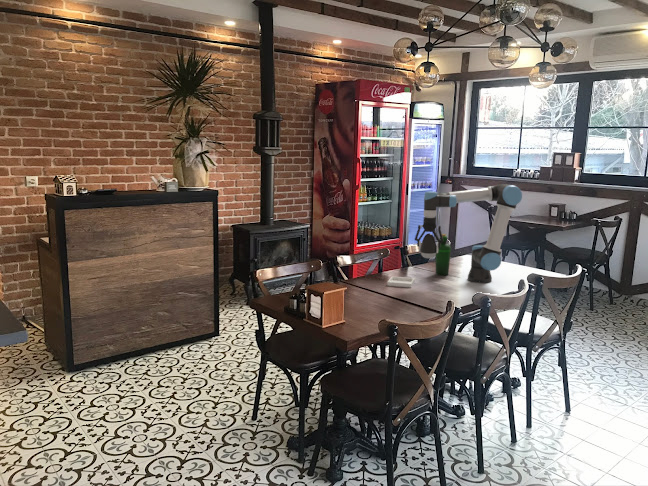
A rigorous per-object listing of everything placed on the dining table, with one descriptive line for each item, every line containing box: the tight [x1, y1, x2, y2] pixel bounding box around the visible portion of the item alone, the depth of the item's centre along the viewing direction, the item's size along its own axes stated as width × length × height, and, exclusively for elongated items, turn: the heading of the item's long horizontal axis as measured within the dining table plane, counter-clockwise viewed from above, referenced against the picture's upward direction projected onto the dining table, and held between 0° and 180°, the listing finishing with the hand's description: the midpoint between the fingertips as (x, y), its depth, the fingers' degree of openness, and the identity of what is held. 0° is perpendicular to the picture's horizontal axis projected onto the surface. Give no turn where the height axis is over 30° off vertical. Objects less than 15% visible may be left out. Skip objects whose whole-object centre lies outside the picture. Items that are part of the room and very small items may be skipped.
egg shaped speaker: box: [419, 232, 437, 259], centre depth 325 cm, size 10×10×15 cm
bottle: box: [434, 233, 452, 277], centre depth 357 cm, size 11×11×28 cm
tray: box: [386, 275, 416, 289], centre depth 335 cm, size 15×15×2 cm
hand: (428, 252), depth 326 cm, fingers closed on egg shaped speaker, 10 cm apart
